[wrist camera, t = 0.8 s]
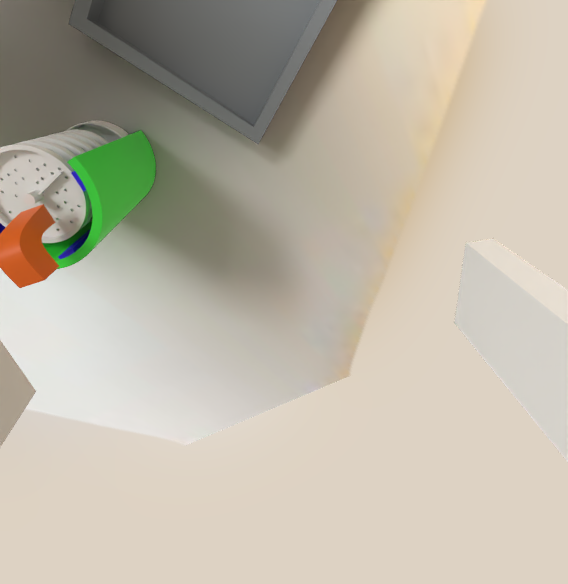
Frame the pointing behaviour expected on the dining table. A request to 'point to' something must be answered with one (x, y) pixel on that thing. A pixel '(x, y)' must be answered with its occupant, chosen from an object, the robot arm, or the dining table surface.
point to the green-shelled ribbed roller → (67, 195)
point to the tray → (212, 49)
